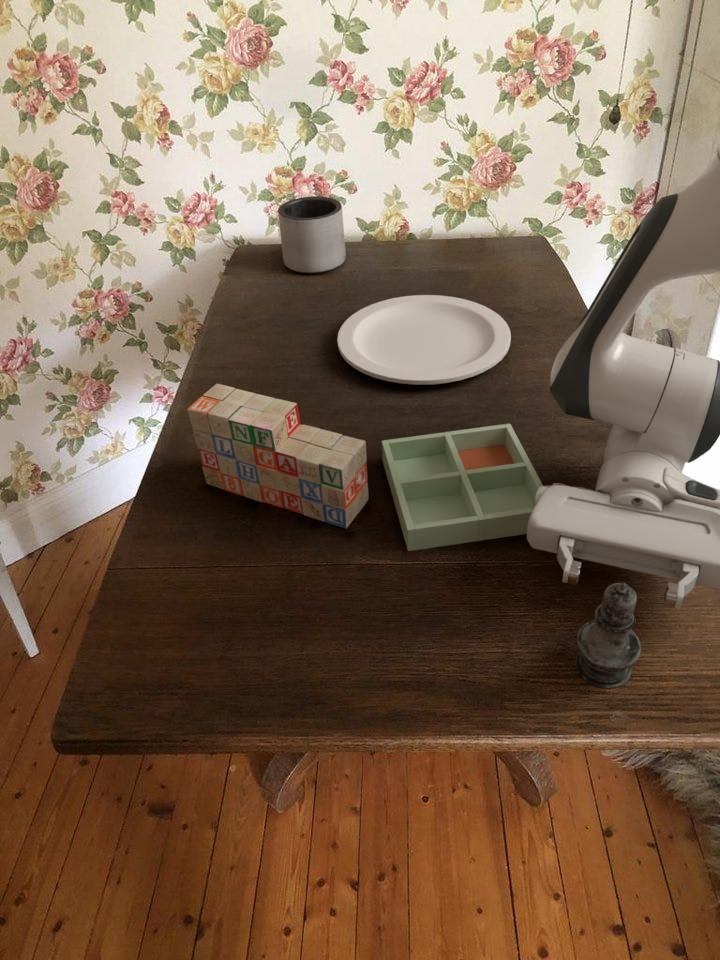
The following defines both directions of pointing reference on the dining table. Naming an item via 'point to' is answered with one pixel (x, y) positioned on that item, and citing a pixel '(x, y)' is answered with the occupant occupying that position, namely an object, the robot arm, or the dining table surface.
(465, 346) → the plate
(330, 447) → the stack of blocks
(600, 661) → the grey chess piece
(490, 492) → the grid
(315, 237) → the planter
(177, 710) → the dining table surface
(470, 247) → the dining table surface
